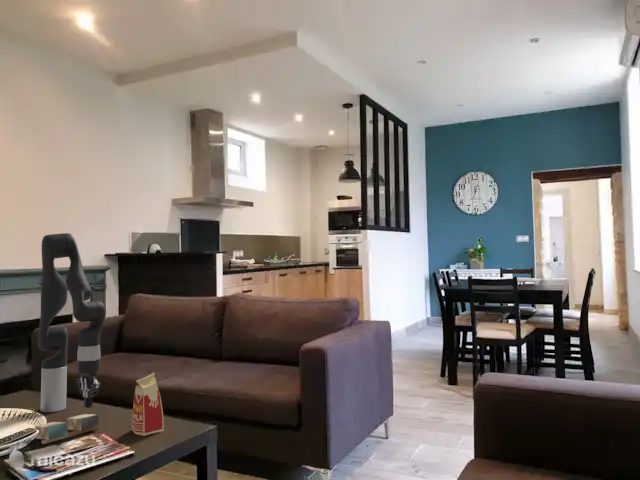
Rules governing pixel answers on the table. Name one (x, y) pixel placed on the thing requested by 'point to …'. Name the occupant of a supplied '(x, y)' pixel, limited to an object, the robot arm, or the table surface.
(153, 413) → the milk carton
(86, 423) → the pale wooden block
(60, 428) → the teal-foot block
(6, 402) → the table surface
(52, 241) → the robot arm
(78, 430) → the strip
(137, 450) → the table surface
